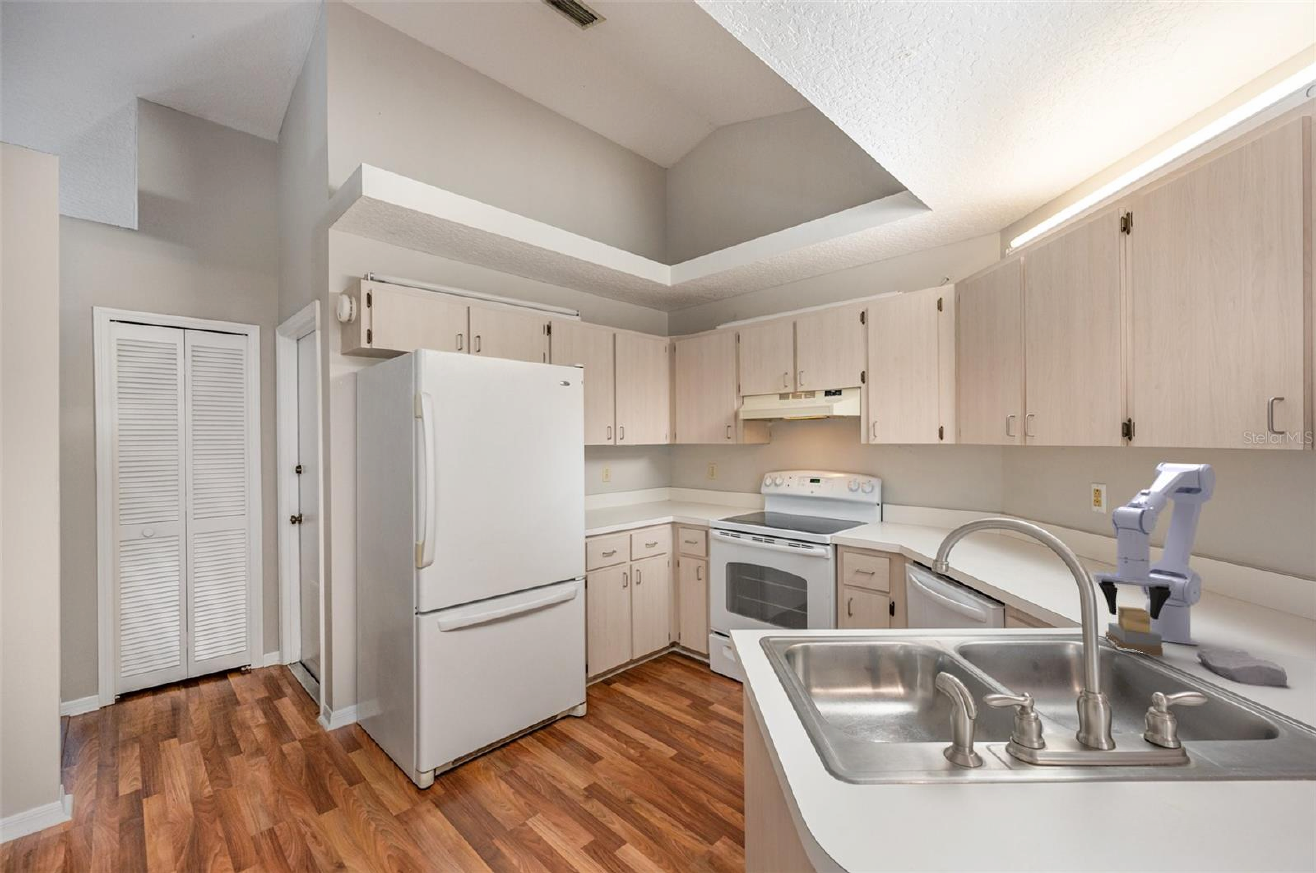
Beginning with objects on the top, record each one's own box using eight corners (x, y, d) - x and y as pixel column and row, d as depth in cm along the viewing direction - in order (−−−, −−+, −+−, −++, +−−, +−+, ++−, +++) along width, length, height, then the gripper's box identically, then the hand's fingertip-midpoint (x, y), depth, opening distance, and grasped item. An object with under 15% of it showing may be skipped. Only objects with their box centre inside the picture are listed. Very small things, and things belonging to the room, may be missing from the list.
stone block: (1238, 693, 107) (1295, 687, 106) (1231, 669, 108) (1289, 663, 106) (1190, 671, 119) (1241, 665, 117) (1184, 649, 119) (1235, 643, 118)
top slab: (1108, 633, 130) (1108, 622, 130) (1143, 636, 128) (1143, 625, 128) (1124, 643, 123) (1124, 632, 124) (1161, 646, 122) (1161, 635, 122)
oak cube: (1118, 624, 129) (1118, 605, 129) (1142, 627, 127) (1142, 608, 127) (1125, 630, 125) (1124, 611, 125) (1150, 633, 123) (1149, 613, 123)
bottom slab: (1105, 641, 131) (1105, 631, 131) (1147, 646, 128) (1147, 636, 128) (1117, 653, 124) (1117, 642, 124) (1162, 659, 121) (1162, 648, 121)
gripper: (1100, 558, 125) (1100, 616, 125) (1181, 564, 120) (1181, 625, 119) (1090, 552, 132) (1090, 608, 132) (1167, 558, 126) (1167, 616, 126)
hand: (1133, 616), depth 126 cm, fingers open, 7 cm apart
